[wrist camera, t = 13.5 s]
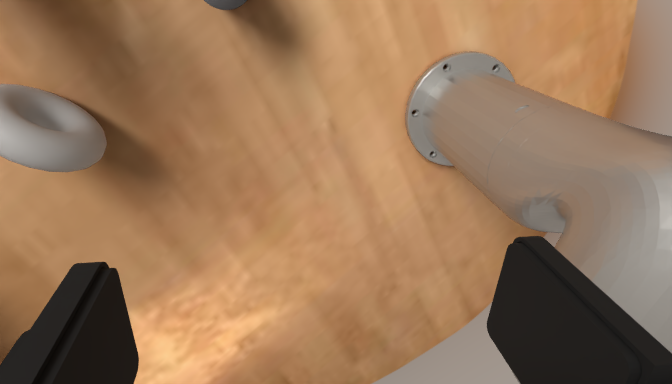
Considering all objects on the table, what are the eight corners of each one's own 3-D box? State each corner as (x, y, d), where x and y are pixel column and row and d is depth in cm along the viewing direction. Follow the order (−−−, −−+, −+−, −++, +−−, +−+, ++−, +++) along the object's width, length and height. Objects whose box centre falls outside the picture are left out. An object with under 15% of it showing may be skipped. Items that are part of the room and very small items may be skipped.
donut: (2, 98, 38) (-77, 133, 29) (15, 66, 37) (-62, 92, 28) (112, 151, 41) (72, 197, 33) (126, 123, 40) (89, 162, 32)
